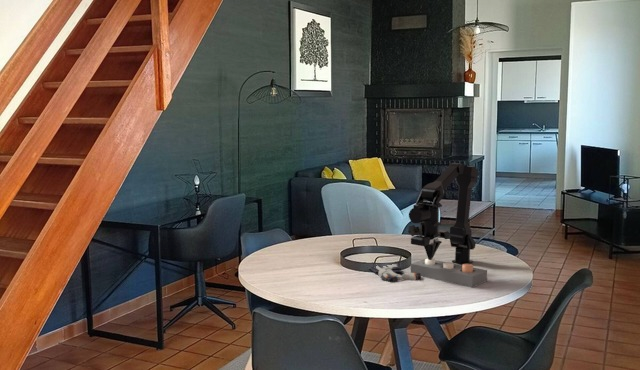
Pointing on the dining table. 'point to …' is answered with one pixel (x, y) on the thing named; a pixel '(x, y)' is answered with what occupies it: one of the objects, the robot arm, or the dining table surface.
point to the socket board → (449, 273)
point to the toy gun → (394, 273)
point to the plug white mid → (448, 265)
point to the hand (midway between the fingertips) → (430, 259)
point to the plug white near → (429, 261)
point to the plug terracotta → (467, 268)
